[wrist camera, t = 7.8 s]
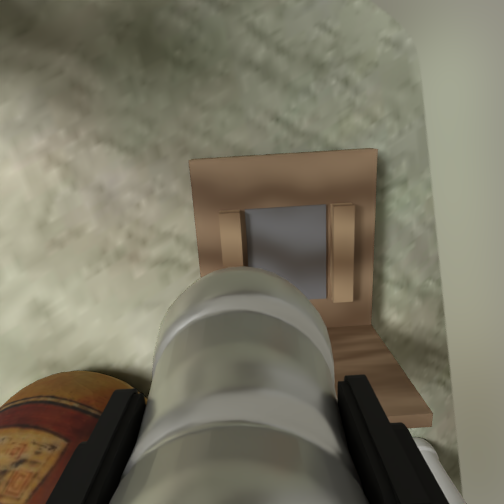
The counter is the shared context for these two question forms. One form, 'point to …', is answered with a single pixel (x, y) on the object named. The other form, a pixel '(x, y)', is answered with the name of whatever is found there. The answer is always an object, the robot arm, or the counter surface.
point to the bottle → (439, 472)
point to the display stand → (308, 249)
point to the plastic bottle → (241, 401)
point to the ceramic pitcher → (48, 431)
